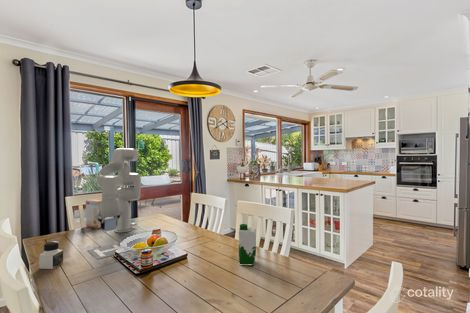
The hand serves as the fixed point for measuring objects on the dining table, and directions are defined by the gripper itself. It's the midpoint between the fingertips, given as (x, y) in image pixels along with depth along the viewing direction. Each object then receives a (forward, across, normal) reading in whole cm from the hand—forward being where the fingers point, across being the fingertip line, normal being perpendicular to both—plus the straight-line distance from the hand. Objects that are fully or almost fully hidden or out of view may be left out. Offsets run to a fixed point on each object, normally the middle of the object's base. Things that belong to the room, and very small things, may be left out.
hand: (109, 227), depth 147 cm
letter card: (+14, 0, 0) cm, 14 cm away
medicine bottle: (+14, +28, 0) cm, 31 cm away
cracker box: (+13, -10, -58) cm, 60 cm away
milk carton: (+14, -45, +68) cm, 83 cm away
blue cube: (+1, 0, 0) cm, 1 cm away
